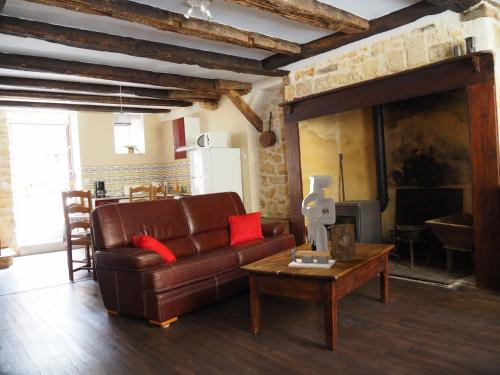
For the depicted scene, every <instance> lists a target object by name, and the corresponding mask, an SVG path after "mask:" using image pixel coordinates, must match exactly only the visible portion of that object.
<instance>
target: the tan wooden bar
mask: <svg viewBox="0 0 500 375" xmlns="http://www.w3.org/2000/svg"><path fill="white" fill-rule="evenodd" d="M298 256H313V257H318V256H328V257H330V256H331V251H330V252H324V251H312V250H298V249H297V248H296V249H295V248H293V249H291V257H292V258H293V257H296V258H297V257H298Z"/></svg>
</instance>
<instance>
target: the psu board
mask: <svg viewBox="0 0 500 375" xmlns="http://www.w3.org/2000/svg"><path fill="white" fill-rule="evenodd" d="M292 258H293V261H291V262H289V264H288V268H301V269H302V268H305V269H306V268H307V269H327V270H328V269H331V268H332V267H333V266H334V264H335V263H336V261H335V260H332V259H329V256H316V259H314V256H303V255H301V258H297V257H292Z"/></svg>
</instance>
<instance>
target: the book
mask: <svg viewBox="0 0 500 375" xmlns="http://www.w3.org/2000/svg"><path fill="white" fill-rule="evenodd" d="M330 247H331V250H330V251H331V260H335V263H338V262H347V261H356V259H357V253H356V252H357V251H356V233H355V223H344V224H343V223H342V224H341V223H340V224H330Z"/></svg>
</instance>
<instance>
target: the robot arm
mask: <svg viewBox="0 0 500 375" xmlns="http://www.w3.org/2000/svg"><path fill="white" fill-rule="evenodd" d="M308 182H309V193H308V194H307V195H306V196H305V197H304V199H303V200H302V203H301V214H302V216H304V217H306V220H307V221H306V223H307V241H308V242H310V244H311V251H324V252H330V253H331V250H329V249H328V234H327V232H328V231H327V228H326V226H325V225H335V223H336V202H335V199H334V198H332V197H325V196H326V195H325V189H329V188H330V187H331V185H332V182H333V178H332V176H331V175H330V174H326V175H325V174H323V175H321V174H319V175H312V176H310V177H309V178H308ZM311 202H313V205H308V204H309V203H311Z"/></svg>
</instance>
